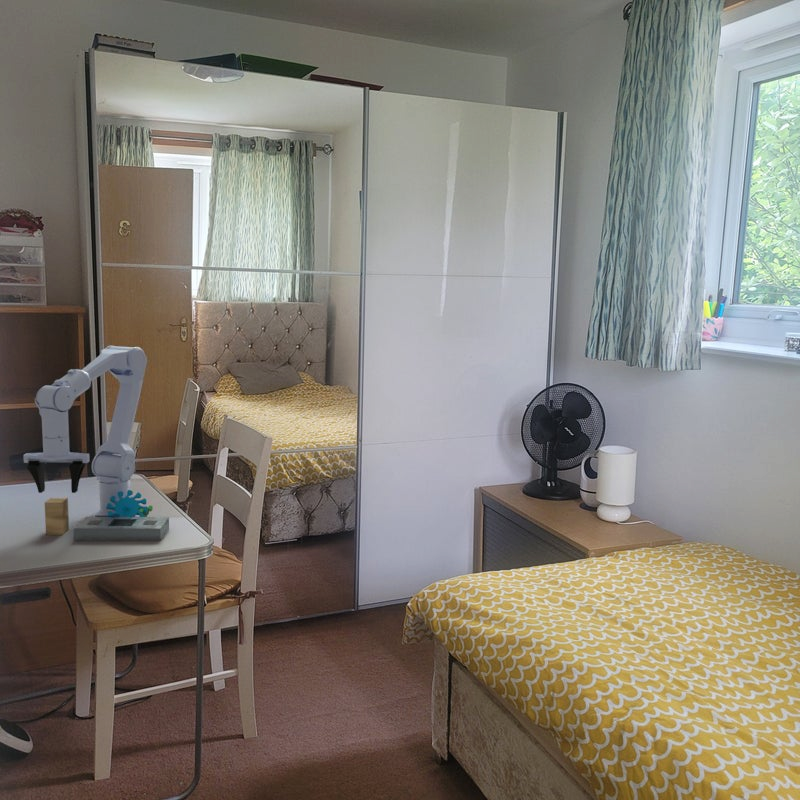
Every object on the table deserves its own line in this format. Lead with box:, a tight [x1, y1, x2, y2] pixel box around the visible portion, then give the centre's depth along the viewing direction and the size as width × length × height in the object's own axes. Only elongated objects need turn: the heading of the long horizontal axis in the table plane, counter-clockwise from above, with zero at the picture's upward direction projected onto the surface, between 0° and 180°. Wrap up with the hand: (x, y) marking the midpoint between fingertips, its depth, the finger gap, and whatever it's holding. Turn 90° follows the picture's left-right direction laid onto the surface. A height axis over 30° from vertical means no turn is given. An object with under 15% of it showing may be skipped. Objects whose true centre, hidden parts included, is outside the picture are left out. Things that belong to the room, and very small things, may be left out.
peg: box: [44, 497, 70, 536], centre depth 185 cm, size 4×4×8 cm
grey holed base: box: [73, 516, 170, 542], centre depth 185 cm, size 9×20×3 cm, turn 94°
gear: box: [106, 489, 153, 517], centre depth 196 cm, size 11×6×10 cm
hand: (58, 491), depth 183 cm, fingers open, 7 cm apart
